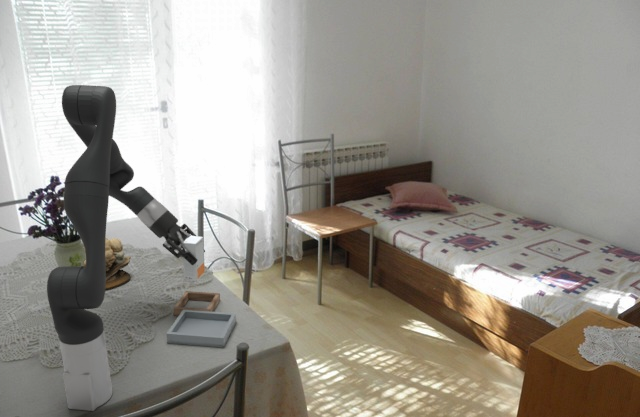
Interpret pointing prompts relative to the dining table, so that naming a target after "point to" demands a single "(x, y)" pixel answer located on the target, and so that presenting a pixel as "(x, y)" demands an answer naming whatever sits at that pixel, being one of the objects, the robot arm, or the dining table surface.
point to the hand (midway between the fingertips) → (199, 258)
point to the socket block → (197, 296)
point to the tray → (202, 328)
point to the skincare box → (197, 250)
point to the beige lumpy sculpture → (115, 264)
